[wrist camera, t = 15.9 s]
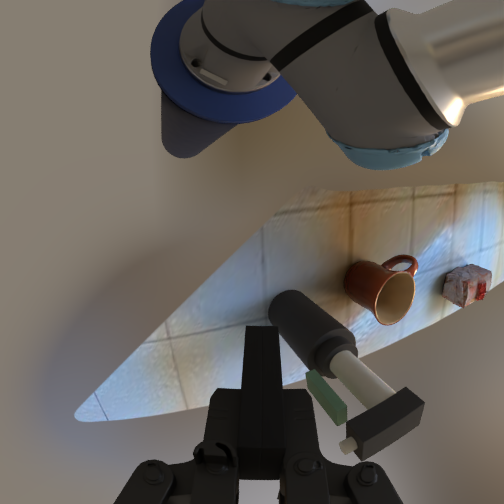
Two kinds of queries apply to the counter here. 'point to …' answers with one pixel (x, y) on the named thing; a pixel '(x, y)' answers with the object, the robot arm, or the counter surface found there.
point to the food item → (467, 285)
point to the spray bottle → (345, 373)
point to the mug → (383, 288)
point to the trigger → (326, 397)
